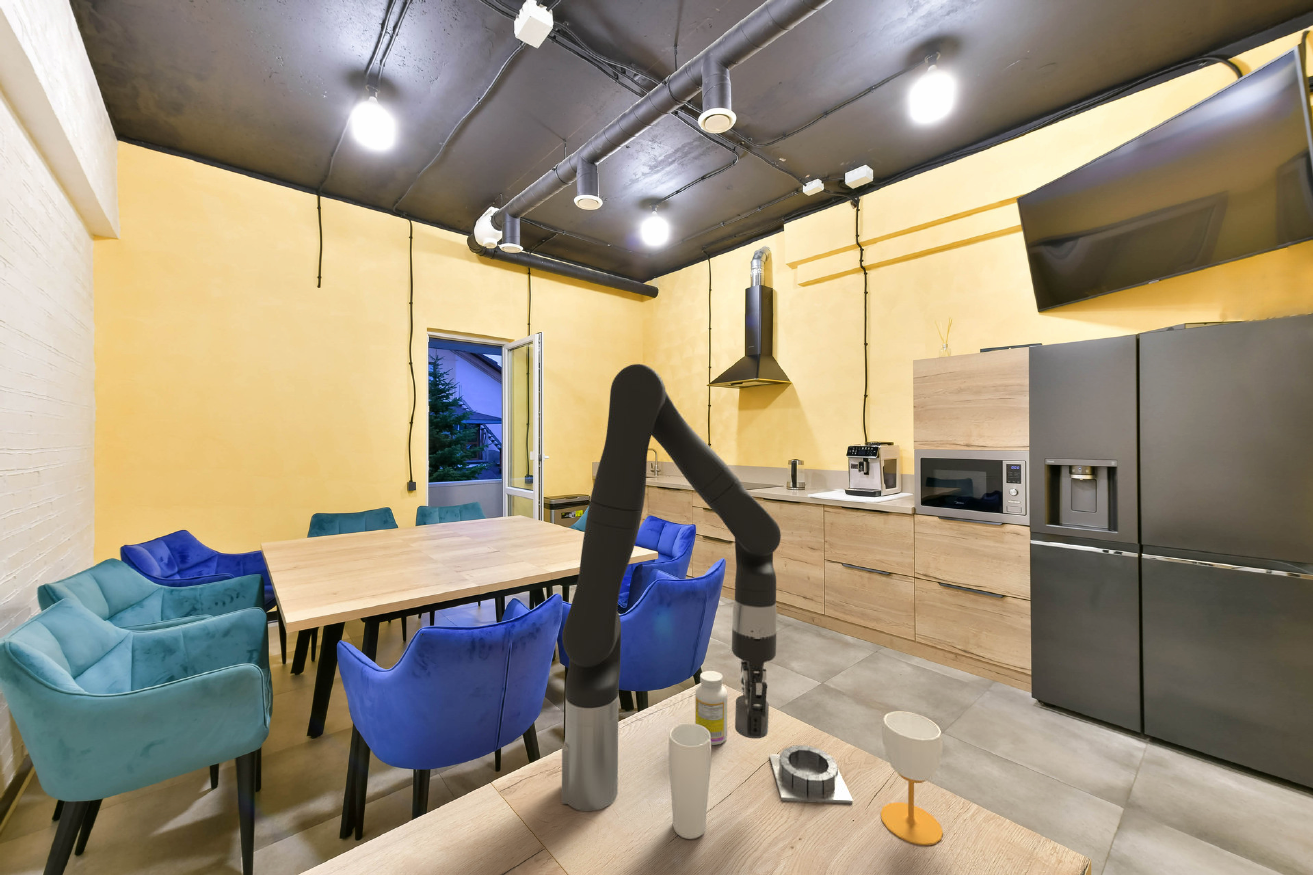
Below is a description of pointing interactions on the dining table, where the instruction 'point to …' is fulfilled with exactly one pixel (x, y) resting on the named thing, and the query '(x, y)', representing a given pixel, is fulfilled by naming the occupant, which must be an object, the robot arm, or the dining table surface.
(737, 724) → the cap
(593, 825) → the dining table surface
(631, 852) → the dining table surface
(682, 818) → the drinking glass
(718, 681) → the supplement bottle
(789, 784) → the segmented ring on plate
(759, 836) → the dining table surface
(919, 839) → the cup
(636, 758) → the dining table surface
